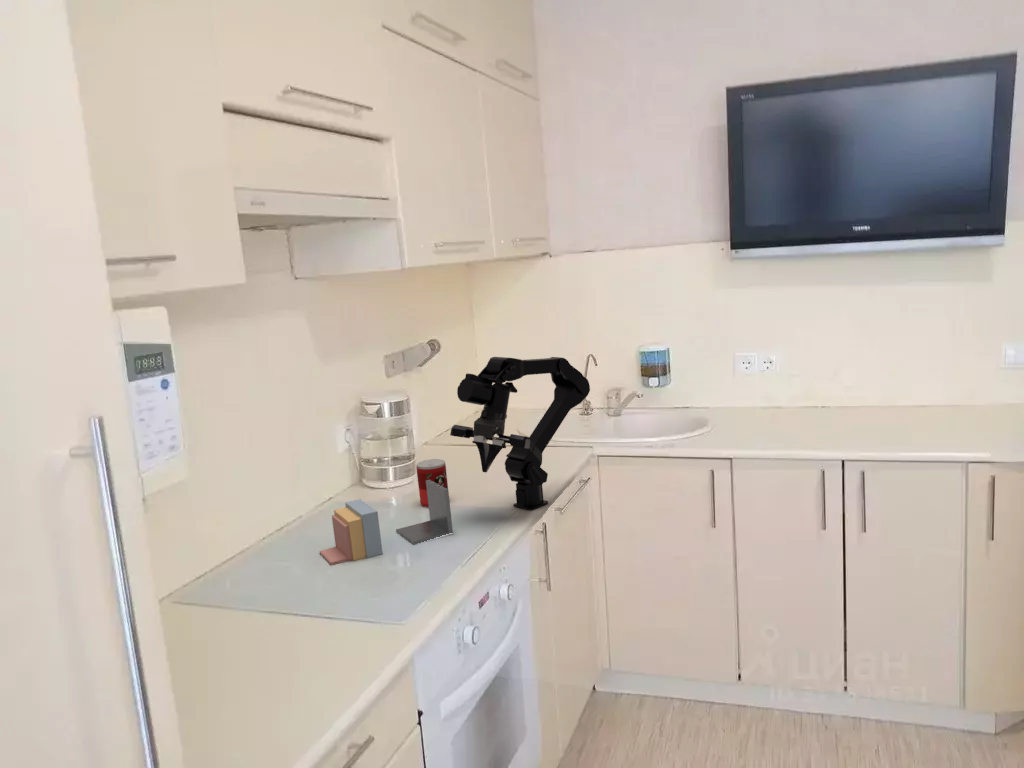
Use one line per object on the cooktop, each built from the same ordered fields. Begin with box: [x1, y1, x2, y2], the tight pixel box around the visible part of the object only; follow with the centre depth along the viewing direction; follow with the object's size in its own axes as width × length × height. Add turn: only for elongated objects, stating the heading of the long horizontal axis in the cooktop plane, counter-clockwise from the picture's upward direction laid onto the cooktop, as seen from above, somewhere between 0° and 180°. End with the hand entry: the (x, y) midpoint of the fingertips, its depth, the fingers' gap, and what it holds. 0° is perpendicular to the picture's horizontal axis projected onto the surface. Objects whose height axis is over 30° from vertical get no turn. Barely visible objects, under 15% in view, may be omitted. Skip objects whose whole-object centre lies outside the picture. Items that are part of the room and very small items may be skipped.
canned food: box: [415, 458, 449, 508], centre depth 218 cm, size 8×8×11 cm
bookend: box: [395, 480, 454, 546], centre depth 195 cm, size 10×11×11 cm
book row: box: [319, 498, 384, 566], centre depth 187 cm, size 11×12×10 cm
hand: (484, 472), depth 199 cm, fingers closed
